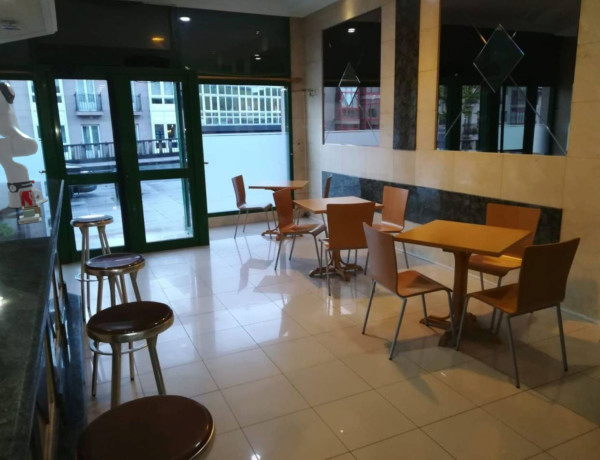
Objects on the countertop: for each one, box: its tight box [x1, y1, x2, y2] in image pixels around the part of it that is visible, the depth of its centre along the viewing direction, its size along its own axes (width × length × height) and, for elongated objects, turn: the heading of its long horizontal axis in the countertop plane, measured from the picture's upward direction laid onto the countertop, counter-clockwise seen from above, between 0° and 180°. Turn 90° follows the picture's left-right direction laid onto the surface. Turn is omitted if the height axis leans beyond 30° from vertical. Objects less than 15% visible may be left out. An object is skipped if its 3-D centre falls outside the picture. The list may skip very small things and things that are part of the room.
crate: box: [21, 204, 43, 218], centre depth 244 cm, size 8×8×5 cm
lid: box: [19, 209, 40, 222], centre depth 233 cm, size 8×8×5 cm
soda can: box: [19, 189, 36, 208], centre depth 256 cm, size 7×7×12 cm
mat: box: [17, 216, 43, 225], centre depth 234 cm, size 10×10×1 cm
